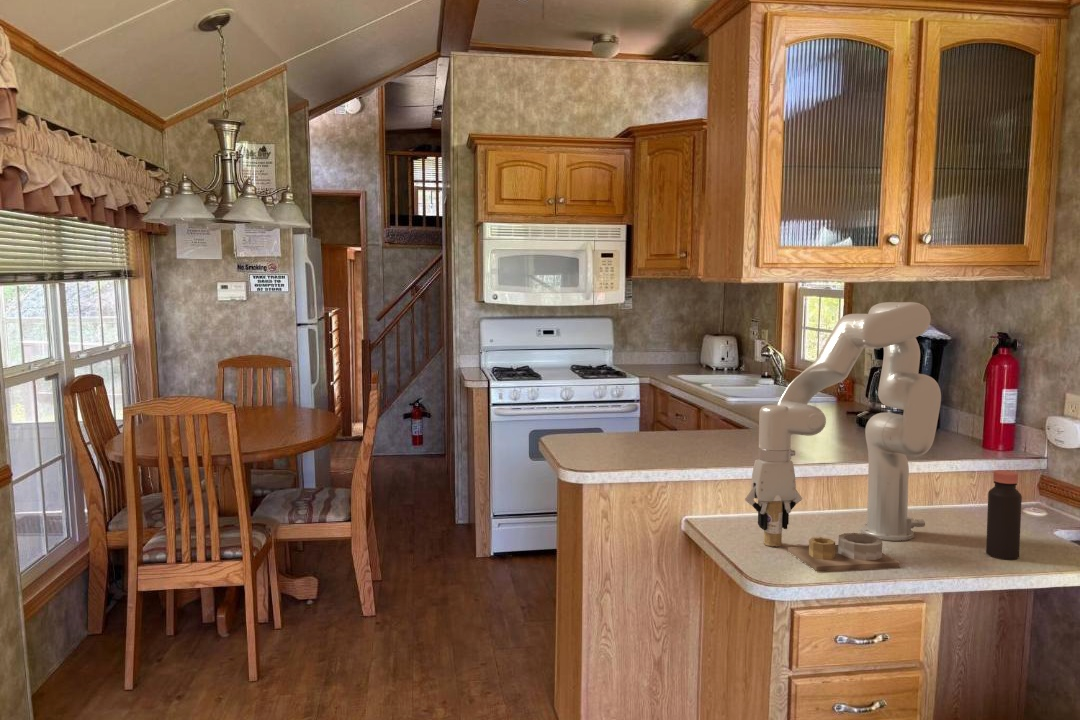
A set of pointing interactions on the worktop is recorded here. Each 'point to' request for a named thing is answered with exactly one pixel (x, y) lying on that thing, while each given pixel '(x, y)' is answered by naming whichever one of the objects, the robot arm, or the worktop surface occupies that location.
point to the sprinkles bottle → (774, 523)
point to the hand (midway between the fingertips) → (773, 527)
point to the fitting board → (841, 561)
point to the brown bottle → (1004, 517)
